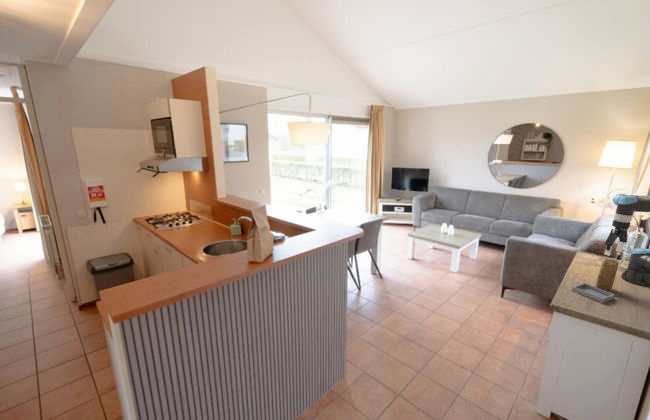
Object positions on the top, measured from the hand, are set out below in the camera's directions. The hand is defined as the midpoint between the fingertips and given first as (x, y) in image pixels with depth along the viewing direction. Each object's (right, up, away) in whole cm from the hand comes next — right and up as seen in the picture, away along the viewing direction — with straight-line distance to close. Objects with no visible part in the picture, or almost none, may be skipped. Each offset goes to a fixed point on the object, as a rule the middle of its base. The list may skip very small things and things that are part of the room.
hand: (612, 253), depth 183 cm
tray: (-13, -26, 0) cm, 29 cm away
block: (0, -24, +7) cm, 25 cm away
